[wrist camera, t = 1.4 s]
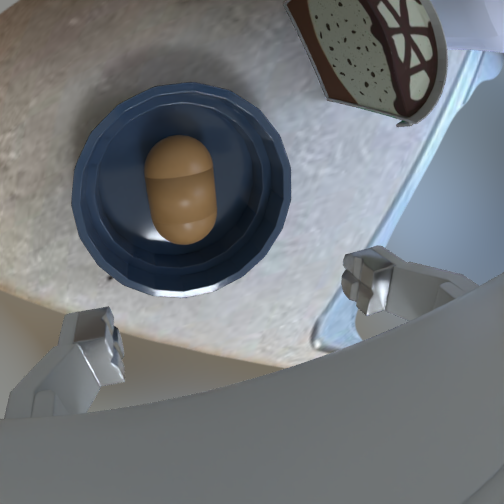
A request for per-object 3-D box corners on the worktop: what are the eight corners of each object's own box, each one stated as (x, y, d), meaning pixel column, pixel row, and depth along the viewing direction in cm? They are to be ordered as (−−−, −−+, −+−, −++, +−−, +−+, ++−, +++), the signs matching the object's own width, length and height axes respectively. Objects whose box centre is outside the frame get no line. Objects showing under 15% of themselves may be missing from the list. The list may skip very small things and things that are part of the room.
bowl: (71, 107, 18) (54, 108, 14) (260, 81, 22) (288, 77, 18) (107, 279, 25) (104, 314, 21) (267, 246, 29) (291, 273, 24)
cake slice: (381, 92, 25) (467, 103, 17) (333, 116, 25) (418, 131, 17) (332, -25, 19) (411, -55, 10) (274, -12, 18) (346, -55, 10)
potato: (140, 137, 21) (139, 145, 17) (203, 128, 22) (217, 133, 18) (155, 235, 24) (159, 262, 20) (212, 224, 25) (227, 248, 21)
